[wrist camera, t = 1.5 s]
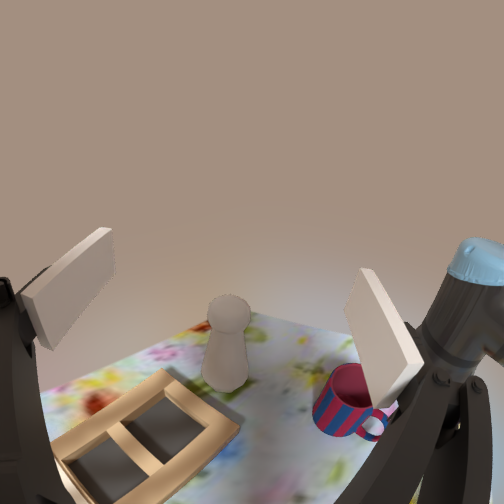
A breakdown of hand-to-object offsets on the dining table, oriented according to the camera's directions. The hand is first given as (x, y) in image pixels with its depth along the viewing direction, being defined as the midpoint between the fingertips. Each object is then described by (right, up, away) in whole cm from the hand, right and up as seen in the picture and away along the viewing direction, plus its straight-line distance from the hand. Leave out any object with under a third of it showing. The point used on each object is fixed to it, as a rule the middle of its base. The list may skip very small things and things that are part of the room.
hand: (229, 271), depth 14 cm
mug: (+12, -20, +13) cm, 27 cm away
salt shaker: (-2, -16, +19) cm, 24 cm away
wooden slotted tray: (-13, -22, +4) cm, 26 cm away
